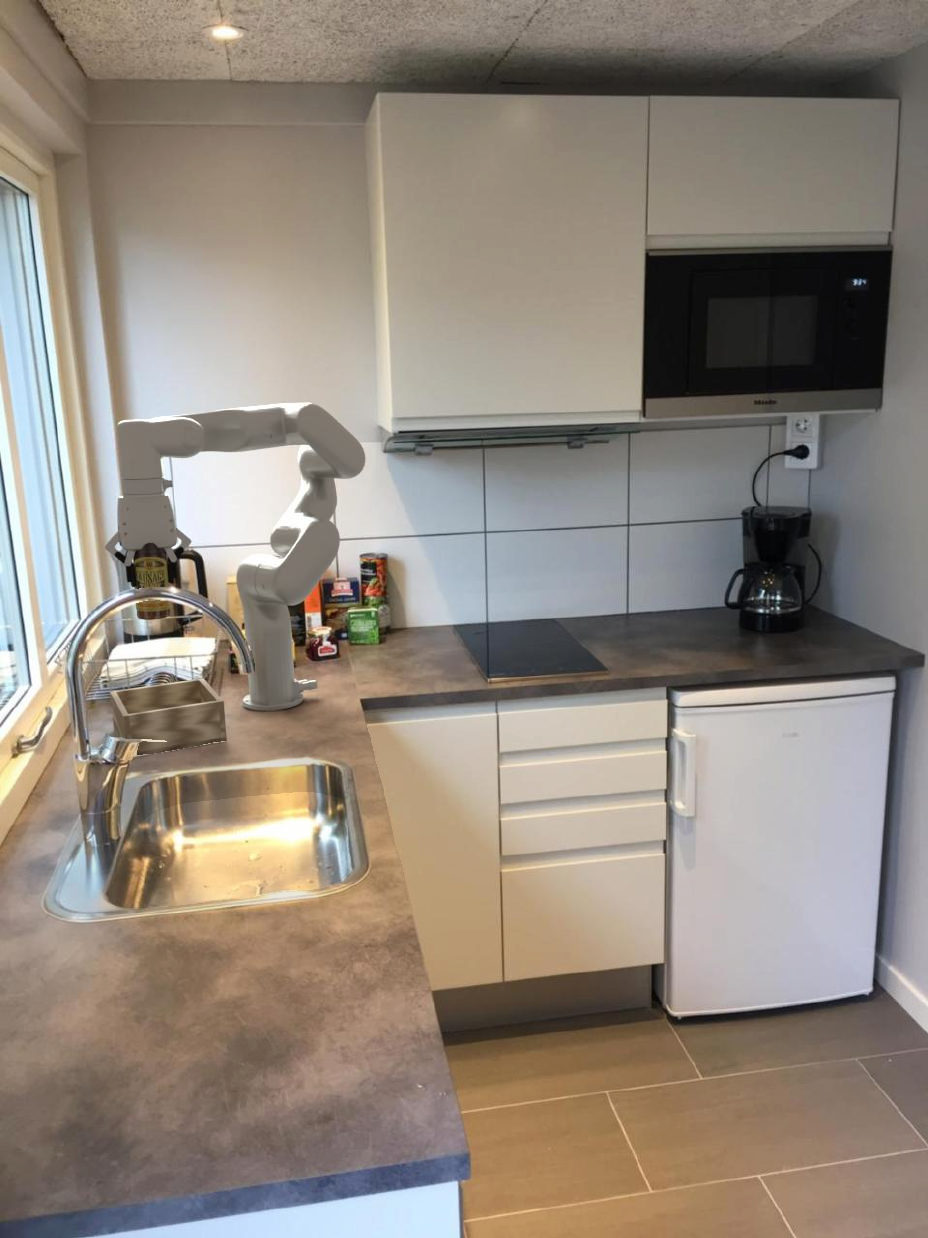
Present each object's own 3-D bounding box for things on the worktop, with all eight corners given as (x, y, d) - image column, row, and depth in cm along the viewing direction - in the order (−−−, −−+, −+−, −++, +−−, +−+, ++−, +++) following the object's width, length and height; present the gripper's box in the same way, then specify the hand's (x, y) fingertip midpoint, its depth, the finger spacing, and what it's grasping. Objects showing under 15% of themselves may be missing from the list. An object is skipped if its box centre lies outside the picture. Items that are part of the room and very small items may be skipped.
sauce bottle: (135, 622, 187) (123, 515, 183) (138, 615, 193) (126, 512, 189) (172, 619, 188) (161, 513, 184) (173, 612, 194) (163, 509, 190)
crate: (206, 716, 206) (203, 678, 204) (227, 741, 190) (223, 701, 188) (114, 730, 198) (110, 691, 196) (127, 758, 182) (123, 716, 180)
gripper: (188, 483, 192) (195, 577, 196) (92, 489, 185) (102, 585, 189) (194, 486, 185) (202, 583, 189) (95, 492, 179) (105, 592, 183)
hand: (152, 583), depth 189 cm, fingers closed on sauce bottle, 6 cm apart
